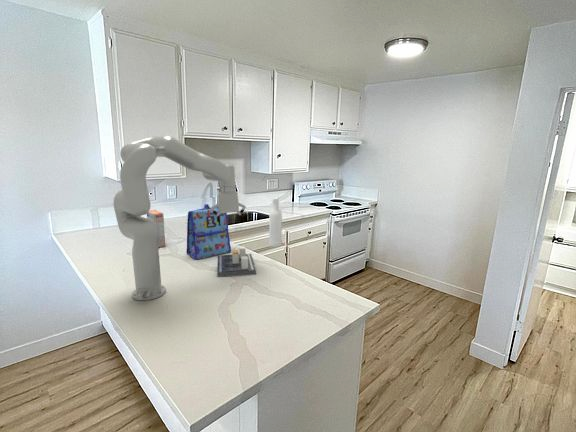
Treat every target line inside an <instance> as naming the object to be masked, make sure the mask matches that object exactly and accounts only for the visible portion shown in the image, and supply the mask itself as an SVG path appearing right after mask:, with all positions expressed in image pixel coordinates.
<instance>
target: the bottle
mask: <svg viewBox="0 0 576 432" xmlns="http://www.w3.org/2000/svg"><path fill="white" fill-rule="evenodd" d="M271 201H272V208H271V210H270V211H269V214H268V215H269V218H268V219H269V221H268V222H269V224H268V225H269V227H268V229H269V231H268V232H269V234H268V235H269V242H268V244H269V247H271V248H280V247H281V246H283V245H282V243H283V239H282V237H283V235H282V234H283V227H282V226H283V216H282V215H283V214H282V211H281V210H280V209H279V207H280V206H279V205H280V204H279V203H280V197H276V196H275V197H272V200H271Z"/></svg>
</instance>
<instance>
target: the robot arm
mask: <svg viewBox="0 0 576 432" xmlns="http://www.w3.org/2000/svg"><path fill="white" fill-rule="evenodd" d="M119 155H120V158H121V160H122V161H123V164H122V166H121V170H120V171H119V173H120V174H119V177H120V178H119V179H120V184H121V190H119V191H118V192H117V193H115V196H114V197H113V210H114V214H115V217H116V221H117V226H118V229H119V232H120V233H121V234H122V235H123V236H124V237H125V238H128V239H130V240H131V241H133V244H132V250H131V252H132V253H131V255H132V263H133V264H132V265H133V273H134V274H133V275H134V284H135V289H134V290H133V291H132V292H131V293H132V294H131V297H132V299H133V300H137V301H152V300H155V299H157V298H160V297H161V296H163V295H164V294H165V293H166V292H167V291H166V290H167V289H166V286H164V285H162V276H161V265H160V253H159V248H158V240H159V227H158V225H157V224H156V223H155V222H154V221H153V220H151V219H148V218H147V217H144V215H147V213H148V212H149V211H150V210H151V205H152V204H151V199H150V195H149V189H148V185H147V174H148V170H149V169H150V168H151V166H152V165H153V164H154V163H155V162H156V160H157V158H166V159H168V160H171V161H172V162H174V163H175V164H178V165H179V166H182V167H184V168H186V169H188V170H192V171H196V172H201V173H202V176H203V177H204V178H205V179H206V180H207V181H213V182H214V181H215V182H219V186H217V187H216V191H219V192H218V196H217V203H216V204H214V205H213V206H211V207H210V208H211V210H212V211H213V213H214V214H215V215H216V216H217V222H219V224H220V214H221V213H227V214H228V213H230V214H231V213H236V214H237V223H238V224H240V221H241V220H242V217H241V215H242V214H243V213H244V212H245V210H246V205H244V204H243V203H240V202H239V196H238V192H237V191H236V177H235V176H236V175H235V170H236V169H235V165H234V164H230V163H229V164H228V163H227V164H226V163H223V162H222V161H220V160H218V159H216V158H214V157H212V156H209V155H207V154H204V153H202V152H200V151H197V150H195V149H193V148H192V147H190V146H188V145H186V144H185V143H183V142H181V141H180V140H178V139H176V138H175V137H174V136H170V135H155V136H152V137H148V138H144V139H141V140H140V139H139V140H137V141H132V142H129V143H127V144H125V145H123V146H122V147H121V149H120V154H119ZM216 207H218V212H216V211H215V210H214V209H215V208H216ZM240 207H241V209H240Z"/></svg>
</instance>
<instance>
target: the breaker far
mask: <svg viewBox="0 0 576 432" xmlns="http://www.w3.org/2000/svg"><path fill="white" fill-rule="evenodd" d="M238 248H239V249H238V252H239V255H240V258H241V256H246V254H247V253H246V246H243V245H242V246H241V245H240V246H239V247H238Z"/></svg>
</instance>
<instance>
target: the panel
mask: <svg viewBox="0 0 576 432" xmlns="http://www.w3.org/2000/svg"><path fill="white" fill-rule="evenodd" d="M246 256H247V257H248V269H242V267H241V258H240V255H239V263H236V264H233V261H232V254H220V255H217V265H216V266H217V267H216V268H217V270H216V272H217V273H216V277H217V278H219V277H221V278H222V277H232V276H233V277H234V276H248V275H256V274H257V268H256V266H255V262H254V258H253V255H252V253H246Z"/></svg>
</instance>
